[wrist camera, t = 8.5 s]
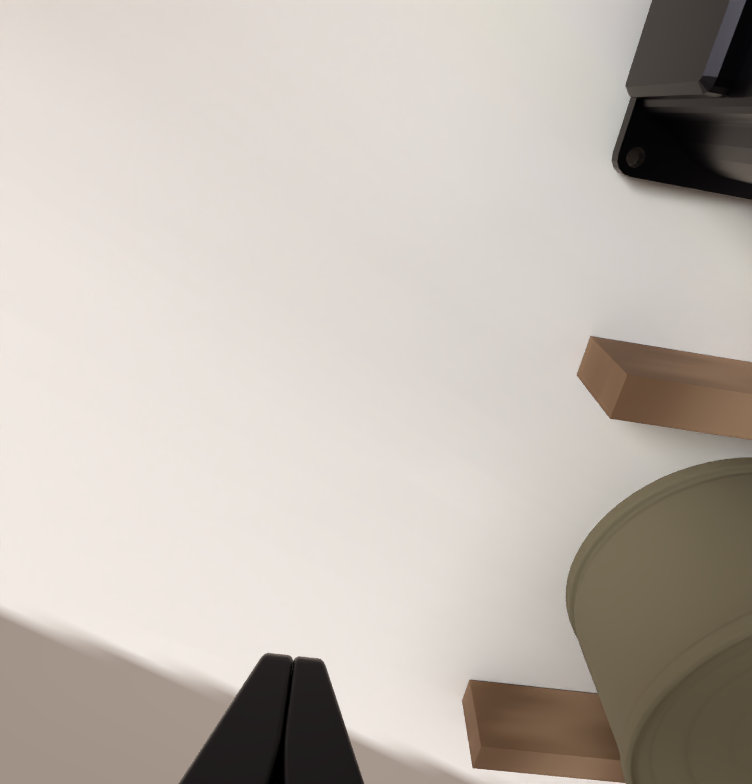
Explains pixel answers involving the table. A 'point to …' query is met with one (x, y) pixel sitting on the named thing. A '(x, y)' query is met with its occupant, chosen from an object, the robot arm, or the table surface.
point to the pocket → (584, 710)
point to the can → (673, 624)
